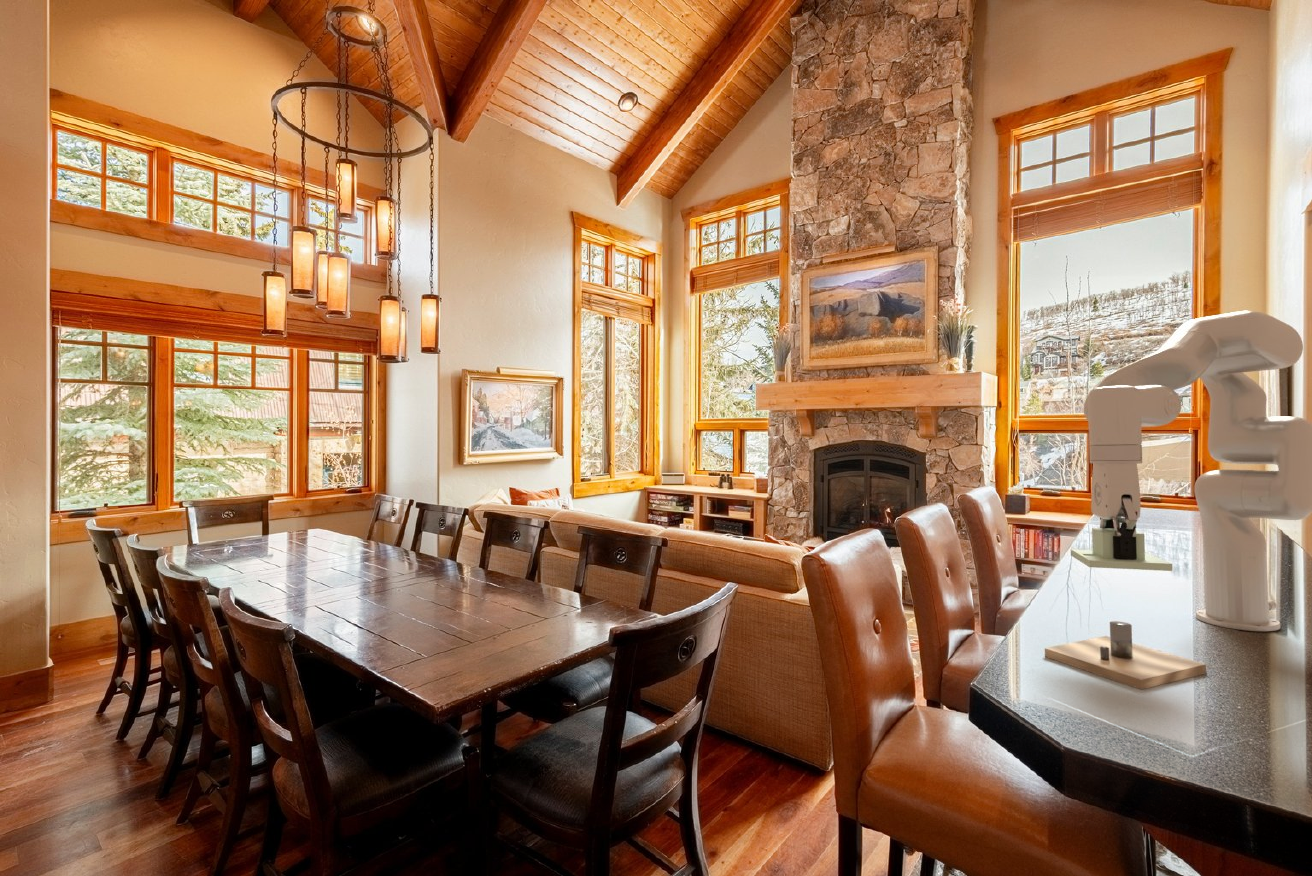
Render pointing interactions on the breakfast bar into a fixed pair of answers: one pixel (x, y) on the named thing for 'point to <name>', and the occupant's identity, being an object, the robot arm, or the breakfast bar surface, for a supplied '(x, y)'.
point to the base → (1126, 663)
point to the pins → (1119, 641)
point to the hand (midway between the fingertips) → (1118, 555)
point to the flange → (1104, 553)
